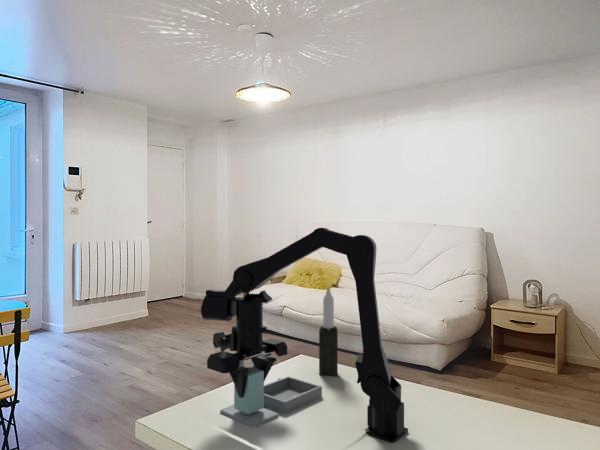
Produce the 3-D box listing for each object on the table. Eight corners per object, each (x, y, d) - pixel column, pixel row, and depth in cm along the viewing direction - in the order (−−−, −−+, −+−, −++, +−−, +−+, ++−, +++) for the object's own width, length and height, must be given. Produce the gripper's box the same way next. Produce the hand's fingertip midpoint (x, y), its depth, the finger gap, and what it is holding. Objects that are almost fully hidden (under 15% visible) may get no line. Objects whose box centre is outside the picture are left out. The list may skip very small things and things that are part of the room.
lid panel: (278, 419, 91) (278, 413, 91) (254, 430, 86) (254, 424, 86) (244, 405, 99) (244, 400, 99) (220, 415, 93) (220, 409, 93)
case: (321, 398, 103) (321, 386, 103) (284, 416, 93) (284, 402, 93) (285, 387, 111) (285, 375, 111) (248, 401, 101) (248, 389, 101)
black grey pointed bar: (337, 372, 122) (337, 285, 123) (337, 378, 117) (337, 287, 118) (319, 371, 123) (319, 285, 123) (318, 377, 118) (319, 287, 118)
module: (263, 407, 93) (263, 367, 93) (248, 414, 89) (248, 372, 89) (249, 402, 96) (249, 363, 96) (234, 408, 92) (234, 367, 92)
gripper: (255, 311, 105) (255, 375, 105) (191, 323, 91) (191, 397, 91) (288, 317, 98) (288, 386, 97) (224, 331, 84) (224, 411, 83)
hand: (249, 394), depth 92 cm, fingers closed on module, 4 cm apart
